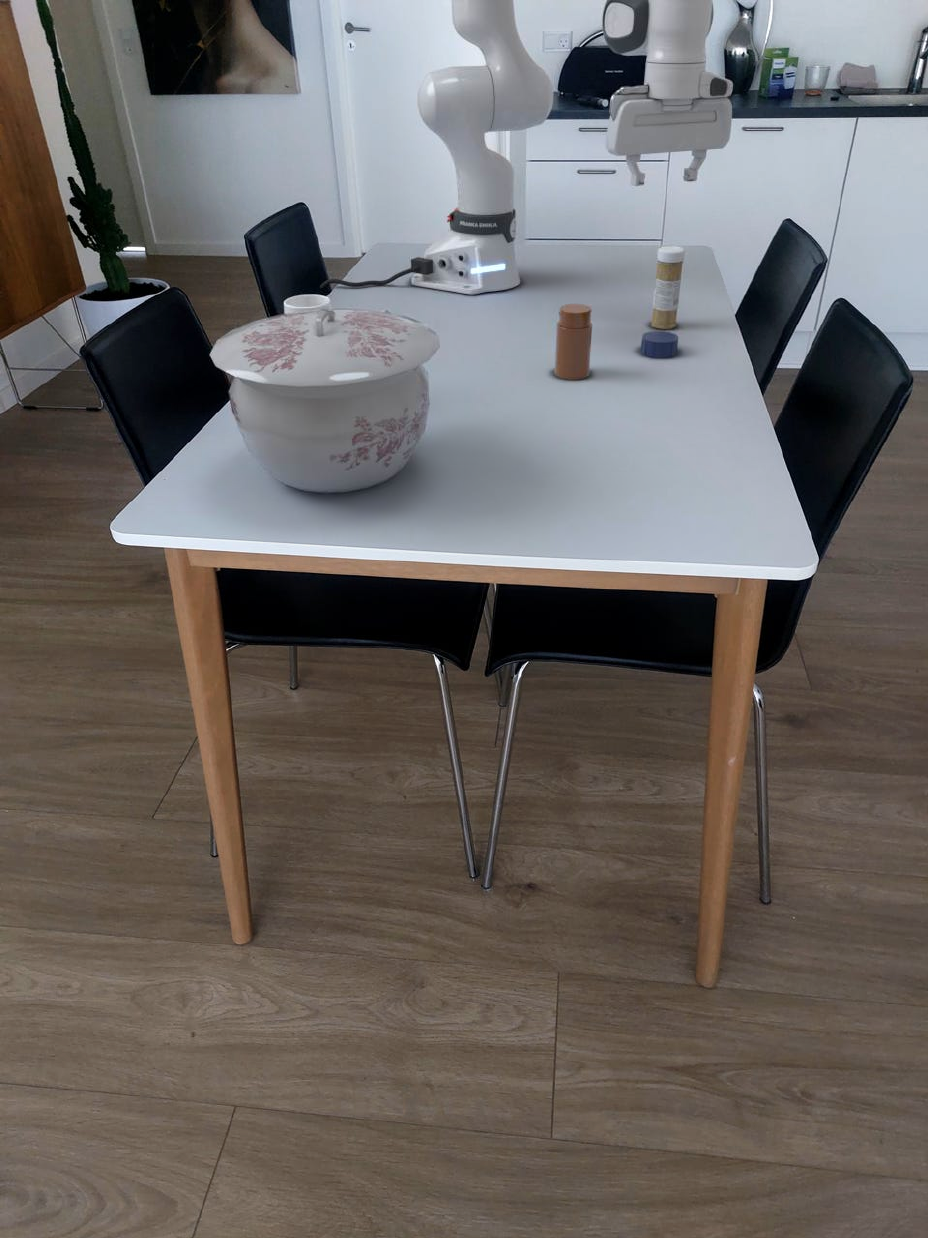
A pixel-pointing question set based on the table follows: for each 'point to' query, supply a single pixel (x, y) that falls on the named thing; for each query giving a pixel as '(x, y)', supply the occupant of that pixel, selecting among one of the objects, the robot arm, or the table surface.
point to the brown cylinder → (573, 342)
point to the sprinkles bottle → (667, 286)
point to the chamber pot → (329, 394)
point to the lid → (659, 344)
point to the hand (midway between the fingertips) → (663, 182)
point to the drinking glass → (306, 303)
